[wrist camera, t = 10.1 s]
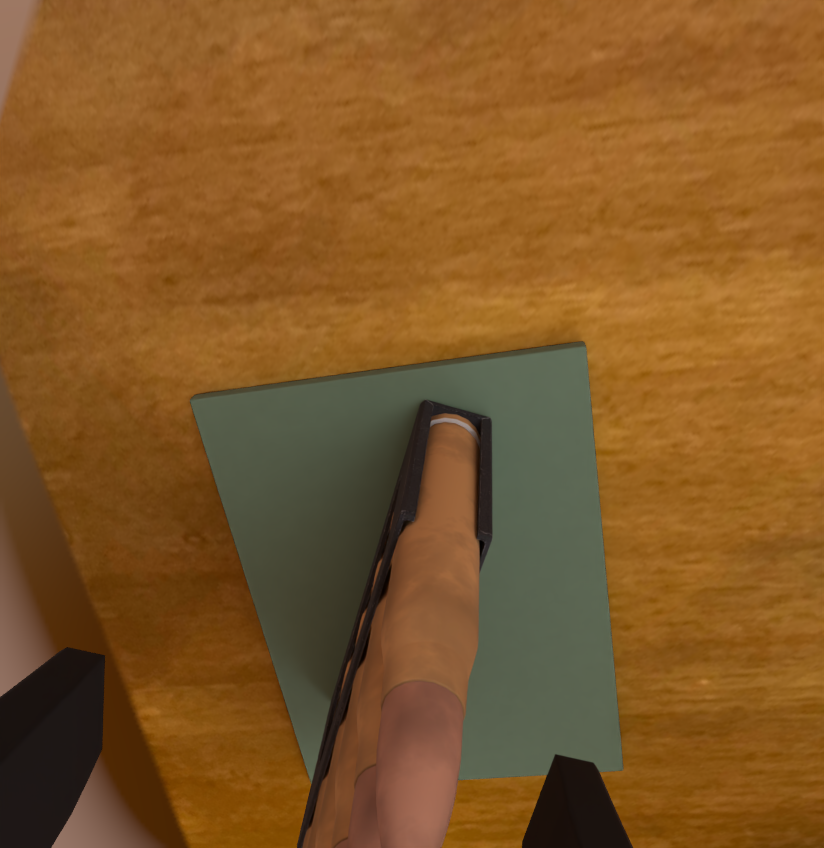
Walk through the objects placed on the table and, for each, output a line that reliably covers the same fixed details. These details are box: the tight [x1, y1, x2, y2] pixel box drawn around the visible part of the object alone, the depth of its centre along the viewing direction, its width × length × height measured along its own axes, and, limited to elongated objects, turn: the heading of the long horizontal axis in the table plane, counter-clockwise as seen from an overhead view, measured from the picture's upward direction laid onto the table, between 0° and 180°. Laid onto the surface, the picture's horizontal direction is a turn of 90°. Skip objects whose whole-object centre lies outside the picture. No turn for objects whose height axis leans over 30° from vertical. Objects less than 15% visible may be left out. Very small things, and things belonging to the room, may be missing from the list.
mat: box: [190, 341, 623, 784], centre depth 22 cm, size 14×10×1 cm
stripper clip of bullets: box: [297, 399, 493, 848], centre depth 16 cm, size 11×2×12 cm, turn 165°
